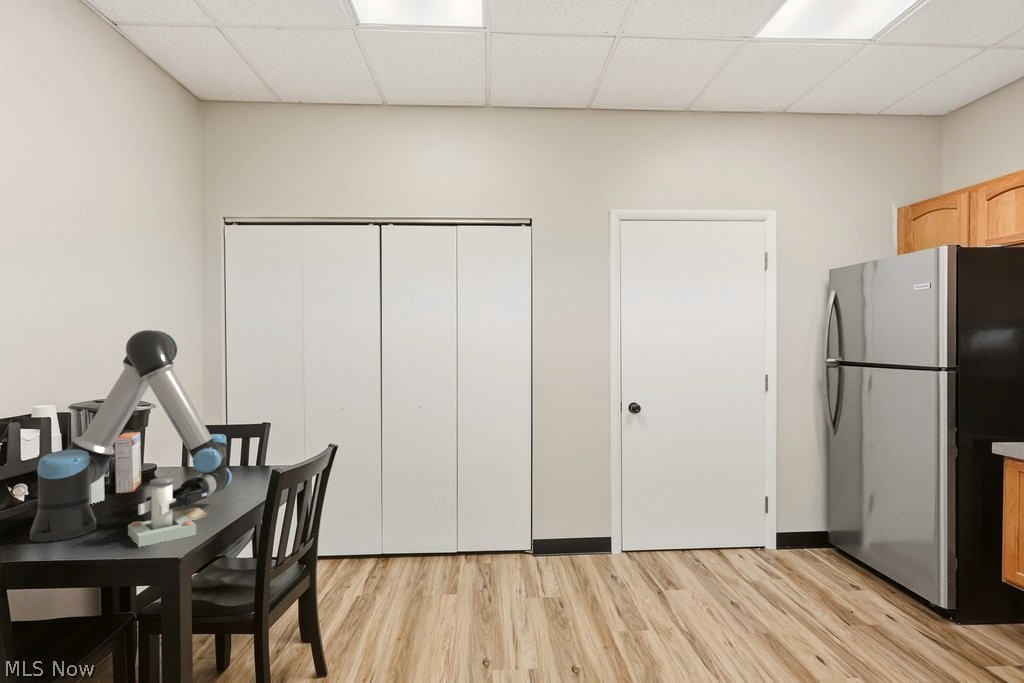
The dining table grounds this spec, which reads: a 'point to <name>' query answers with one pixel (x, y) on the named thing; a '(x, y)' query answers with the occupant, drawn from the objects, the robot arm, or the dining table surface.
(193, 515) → the board
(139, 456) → the cracker box
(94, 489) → the small box
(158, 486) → the cylinder
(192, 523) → the frame
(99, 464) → the robot arm
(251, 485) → the dining table surface
